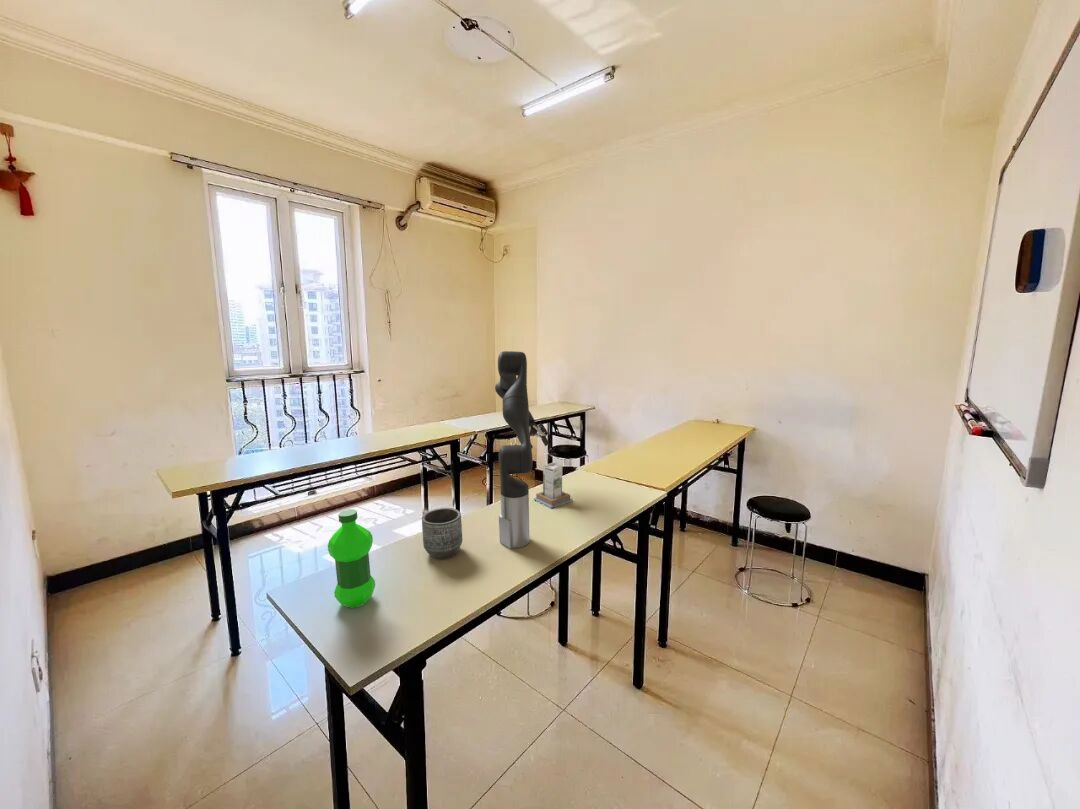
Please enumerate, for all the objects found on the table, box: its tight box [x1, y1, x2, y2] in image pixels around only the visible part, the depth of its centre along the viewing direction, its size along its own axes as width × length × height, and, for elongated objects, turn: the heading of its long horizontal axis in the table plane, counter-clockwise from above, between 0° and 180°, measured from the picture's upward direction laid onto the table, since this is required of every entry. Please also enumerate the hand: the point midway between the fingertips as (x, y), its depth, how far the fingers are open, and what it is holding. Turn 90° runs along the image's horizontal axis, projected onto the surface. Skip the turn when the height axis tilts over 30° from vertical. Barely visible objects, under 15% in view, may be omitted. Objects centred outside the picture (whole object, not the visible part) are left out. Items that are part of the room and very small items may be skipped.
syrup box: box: [542, 462, 563, 499], centre depth 175 cm, size 6×6×14 cm
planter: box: [421, 507, 463, 561], centre depth 135 cm, size 12×12×13 cm
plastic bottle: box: [327, 508, 376, 609], centre depth 110 cm, size 10×10×25 cm
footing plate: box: [533, 490, 574, 509], centre depth 176 cm, size 12×11×3 cm
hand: (539, 446), depth 179 cm, fingers open, 8 cm apart
